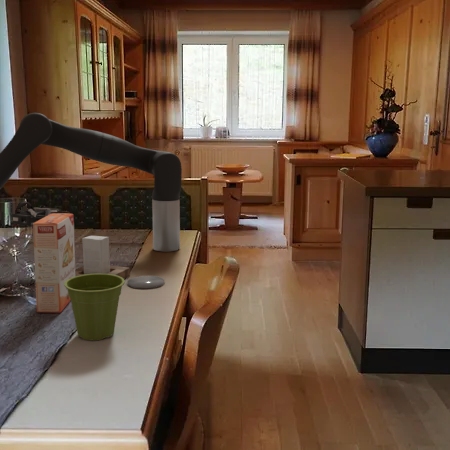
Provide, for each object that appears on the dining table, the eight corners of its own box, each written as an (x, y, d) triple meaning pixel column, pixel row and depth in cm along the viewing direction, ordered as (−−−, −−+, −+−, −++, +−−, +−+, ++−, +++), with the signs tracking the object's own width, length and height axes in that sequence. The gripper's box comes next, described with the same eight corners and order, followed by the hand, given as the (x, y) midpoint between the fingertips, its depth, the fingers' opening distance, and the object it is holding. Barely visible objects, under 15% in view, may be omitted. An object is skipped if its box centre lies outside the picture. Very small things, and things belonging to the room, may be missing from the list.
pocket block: (90, 271, 153) (90, 263, 153) (129, 275, 149) (129, 267, 148) (62, 283, 141) (62, 275, 141) (105, 289, 137) (104, 280, 136)
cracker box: (62, 313, 119) (58, 222, 115) (35, 313, 119) (30, 222, 115) (78, 294, 133) (74, 212, 129) (54, 294, 133) (49, 212, 129)
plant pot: (70, 350, 100) (68, 293, 98) (63, 328, 111) (60, 276, 108) (132, 340, 105) (130, 286, 102) (119, 320, 115) (117, 270, 113)
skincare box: (111, 278, 146) (109, 236, 144) (102, 283, 142) (101, 239, 140) (92, 276, 148) (90, 235, 146) (83, 280, 144) (81, 238, 142)
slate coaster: (138, 276, 149) (138, 274, 148) (170, 280, 145) (170, 277, 145) (120, 286, 139) (120, 284, 139) (154, 290, 136) (154, 288, 136)
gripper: (-8, 203, 143) (42, 208, 138) (28, 197, 156) (74, 201, 151) (-6, 230, 145) (43, 235, 139) (29, 222, 158) (75, 226, 153)
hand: (59, 217), depth 145 cm, fingers open, 8 cm apart
